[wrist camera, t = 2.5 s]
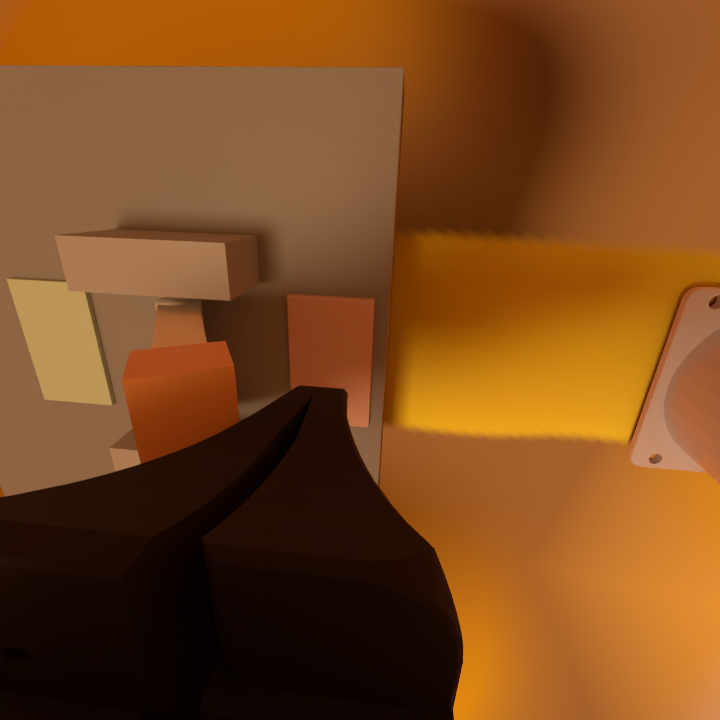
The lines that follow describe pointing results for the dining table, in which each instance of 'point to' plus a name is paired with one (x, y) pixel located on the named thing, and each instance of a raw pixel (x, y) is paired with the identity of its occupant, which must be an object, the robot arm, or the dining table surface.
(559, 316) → the dining table surface
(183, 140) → the panel
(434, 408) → the dining table surface
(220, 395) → the toggle lever
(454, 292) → the dining table surface
